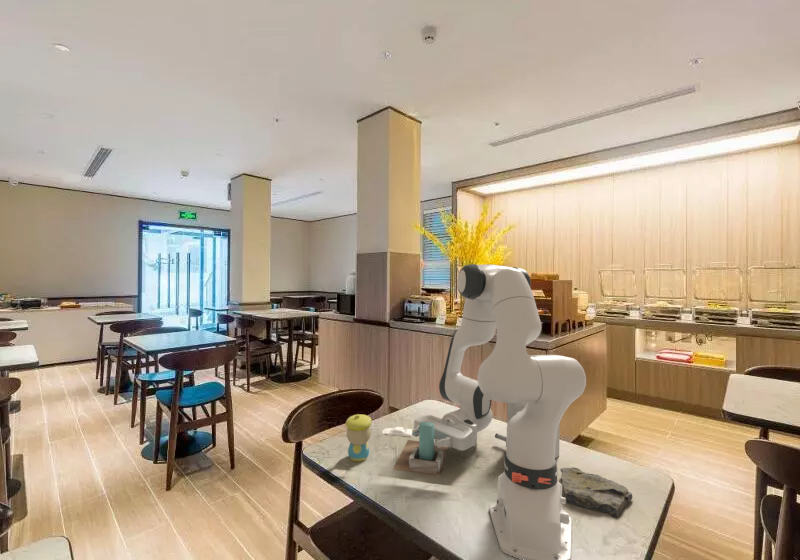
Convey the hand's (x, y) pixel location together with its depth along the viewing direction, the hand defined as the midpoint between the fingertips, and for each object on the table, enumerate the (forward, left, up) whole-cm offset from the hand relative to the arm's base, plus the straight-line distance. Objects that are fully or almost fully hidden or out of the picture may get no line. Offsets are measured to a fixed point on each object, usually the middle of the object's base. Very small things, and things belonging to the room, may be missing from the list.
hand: (424, 438), depth 111 cm
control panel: (+19, -28, -10) cm, 35 cm away
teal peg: (+1, 0, -8) cm, 8 cm away
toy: (0, +21, -10) cm, 23 cm away
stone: (0, -46, -10) cm, 48 cm away
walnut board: (+6, +2, -9) cm, 11 cm away
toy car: (+21, +14, -10) cm, 27 cm away
